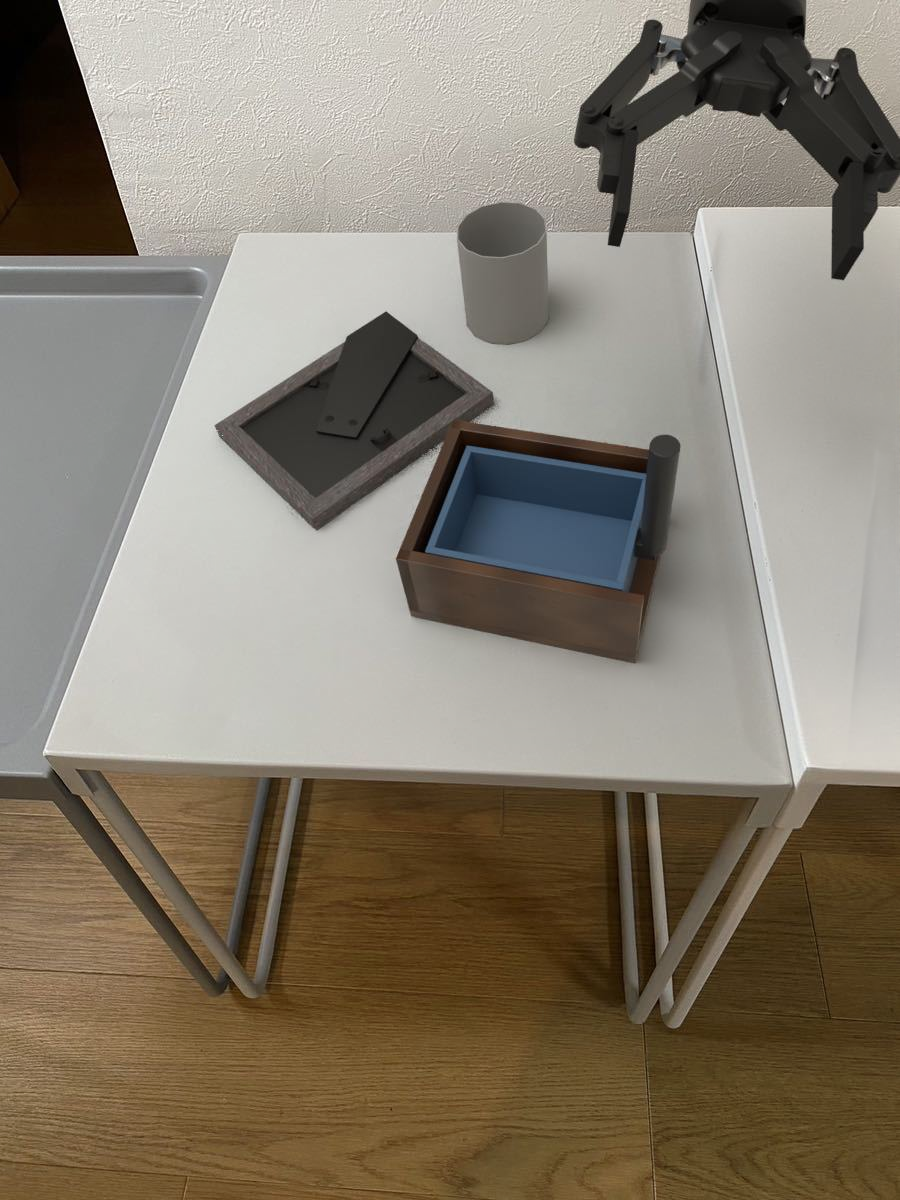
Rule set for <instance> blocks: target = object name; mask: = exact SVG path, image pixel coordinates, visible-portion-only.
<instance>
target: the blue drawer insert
mask: <svg viewBox="0 0 900 1200" xmlns="http://www.w3.org/2000/svg"><path fill="white" fill-rule="evenodd" d="M648 445H649V446H648V449H649V454H648V463H647V473H646V474H644V473H638V472H632V471H625V470H619V469H613V468H606V467H600V466H594V465H587V464H581V463H575V462H568V461H562V460H556V459H550V458H543V457H537V456H531V455H524V454H518V453H512V452H505V451H499V450H493V449H486V448H480V447H474V446H468V445H467V446H466V448H465V451H464V454H463V456H462V459H461V461H460V464H459V466H458V469H457V471H456V474H455V476H454V479H453V482H452V484H451V487H450V489H449V492H448V494H447V497H446V499H445V502H444V504H443V507H442V510H441V512H440V515H439V517H438V520H437V522H436V525H435V527H434V530H433V532H432V535H431V538H430V540H429V543H428V545H427V547H426V550H425V553H426V554H431V555H436V556H441V557H447V558H452V559H457V560H462V561H467V562H473V563H478V564H483V565H488V566H494V567H499V568H504V569H509V570H515V571H520V572H525V573H530V574H535V575H541V576H546V577H551V578H556V579H562V580H567V581H572V582H577V583H583V584H588V585H593V586H598V587H603V588H609V589H614V590H619V591H624V592H629V591H630V587H631V583H632V579H633V575H634V571H635V567H636V563H637V559H638V558H643V559H648V560H654V561H655V560H656V555H659V554H660V555H662V554H663V553H664V552H665V551H666V548H667V545H668V537H669V530H670V522H671V515H672V510H673V503H674V502H673V501H674V496H675V488H676V481H677V475H678V467H679V461H680V453H681V443H680V440H679V439H678V438H676V436H674V435H670V434H659V435H656V436H655V437H653V438H652V439H651V440H650V441H649V444H648Z"/></svg>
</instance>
